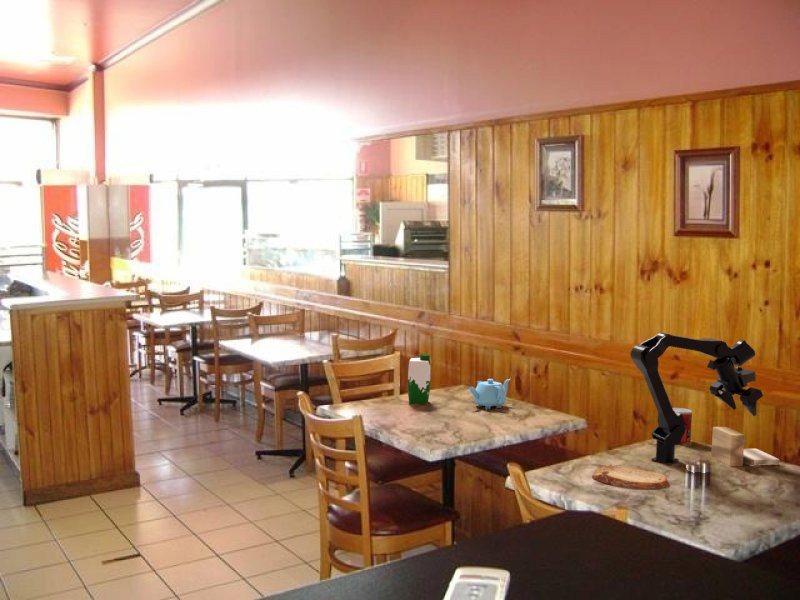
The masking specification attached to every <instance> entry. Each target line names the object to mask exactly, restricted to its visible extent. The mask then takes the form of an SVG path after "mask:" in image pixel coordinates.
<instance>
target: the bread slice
mask: <svg viewBox="0 0 800 600" xmlns="http://www.w3.org/2000/svg"><path fill="white" fill-rule="evenodd" d="M591 479H593V481H596V482H600V483H602V484H605V485H610V486H616V487H619V488H620V487H621V488H629V489H630V488H631V489H644V490H645V489H653V490H654V489H662V488H667V487H669V485H670V482H669V480H668V478H667V477H666V475H663V474H661V473H658V472H653V471H649V470H643V469H639V468H638V469H637V468H630V467H624V466H623V467H622V466H618V465H612V464H608V465H605V466H602V467H599V468H598V469H596V470H595V471H594V472H593V474H592V475H591Z"/></svg>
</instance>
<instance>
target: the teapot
mask: <svg viewBox="0 0 800 600" xmlns="http://www.w3.org/2000/svg"><path fill="white" fill-rule="evenodd" d="M510 381H511V378H507V379H505V380H504V383H503V384H502V383H501V382H498V381H494V379H493V378H488V379H487V381H482V380H476V384H477V385H476V387H475V388H474V386H470V387H469V388H468V391H469V392H470V393H471V394H472V396H473V401H474V402H475V404H476V405H477V407H484V409H485V410H490V409H491V407H495V408H497V409H501V408H503V407H502V406H503V405H504V404H505V403H506V401H507V394H508V384H509V382H510Z"/></svg>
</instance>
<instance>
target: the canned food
mask: <svg viewBox="0 0 800 600" xmlns="http://www.w3.org/2000/svg"><path fill="white" fill-rule="evenodd" d="M672 409H673V410H674V411H676V412H678V413H681V414H682V416H683V420H684V422H685V423H686V425H685V428H686V432H685V433H684V435H683V437H682V439H681V442H680V444H688V443H687V442H689V443H690V442H691V440H692V439H691V437H692V436H691V435H692V418H693V411H692V410H691V409H690V408H689V409H688V408H684V407H683V408H682V407H672Z"/></svg>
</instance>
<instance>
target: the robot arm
mask: <svg viewBox="0 0 800 600" xmlns="http://www.w3.org/2000/svg"><path fill="white" fill-rule="evenodd" d="M669 347H671V348H678V349H681V350H682V349H685V350H689V351H695V352H698V353H699V354H703V355H705V356H709V357H713V358H715V359H713V360H712V359H710V360H709V362H708V363H707V366H706V367H707V369H709V370H713V371H716V374H717V376H718V378H717V379H716V381H715V382H713V383H712V384H711V385H710V387H709V392H710V394H711V395H713V396H714V397H716V398H717V399H719V400H720V401H721V402H722V403H724V404H726V406H728V407H729V408H730V409H732V410H733V411H735V410H736V409H737V405H736V402H735V399H734V397H733V396H734V395H738V396H739V400H740V402H741V405H742V406H743V407H744V408H745V409H746V410H747V411H748V413H749V414H750V415H752V417H756V416H757V411H758V410H757V404H758V400H760V399H761V398H762V397H764V393H763V390H762V389H759V388H757V387H752V386H749V387H748V383H752V382H756V381H757V376H756V371H755V370H754V369H753V370H752V369H750V368H749V369H748V368H742V367H741V366H742V365H745V364H746V363H747V362H749V361H751V360H752V359H753V358H755V357H756V351H755V350H754V349H755V348H752V347H751V346H750V344H748V342H747V341H746V340H744V339H740V340H739V341H737V342H736V343H735V344H733V345H732V346H731V347H730V346H728V344H727V342H725V341H723V340H721V339H720V340H719V339H715V338H713V337H712V338H709V337H708V338H692V337H691V338H690V337H687V336H680V335H674V334H669V333H666V332H659V333H656V335H655V336H653V337H651V338H649V339H647V340H646V339H645V340H644V341H643V342H641V343H640V344H637V345H635V346H633V348H632V349H631V351H630V354H629V355H630V358H631V360H632V362H633V363H634V366H635V367H636V368H637V369H638V370H639V371H640V372H641V374H642V375H643V378H644V380H645V383H646V385H647V388H648V390H649V392H650V396H651V398H652V400H653V403H654V405H655V408H656V411H657V425H658V426H656V428H655V429H654V430H652V431H651V437H652V440H655V441H656V445H655V446H656V448H655V456H654V457H652V458H650V459H651V461H653V462H658V463H663V464H667V465H673V464H674V463H676V462H679V458H676V456H675V454H676V446H679V445H680V444H681V443H680V442H681V439H682V437H683V435H684V433H685V432H686V428H685V425H686V423H685V422H684V420H683V416H682V414H681V413H678V412H676V411H674V410H673V409H672V408H673V407H672V403H671V401H670V399H669V396H668V393H667V391H666V388H665V385H664V383H663V380H662V378H661V375H660V373H659V358H660V357H661V356H663V354H664V353H665V352H666V351H667V349H668V348H669ZM746 387H748V389H745V388H746Z"/></svg>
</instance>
